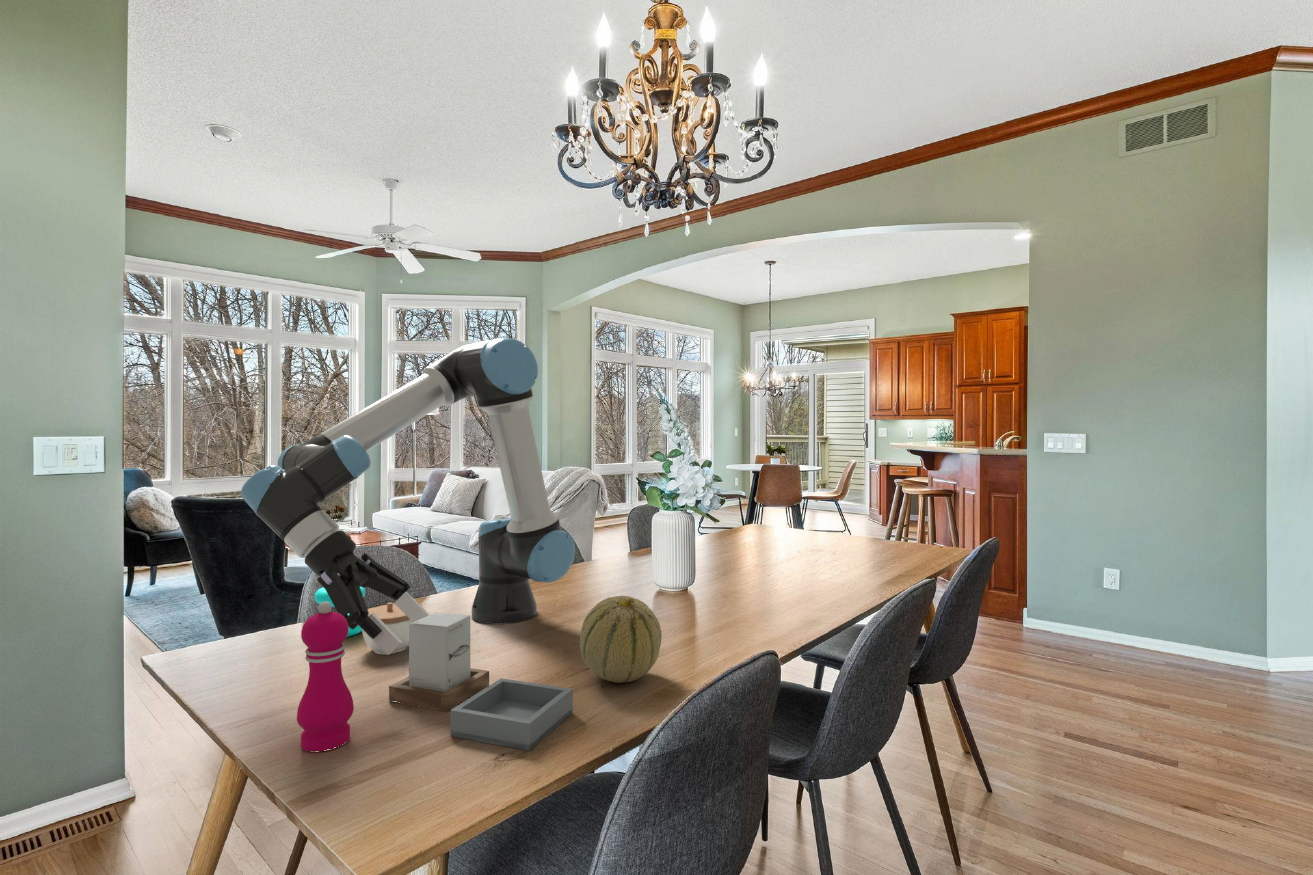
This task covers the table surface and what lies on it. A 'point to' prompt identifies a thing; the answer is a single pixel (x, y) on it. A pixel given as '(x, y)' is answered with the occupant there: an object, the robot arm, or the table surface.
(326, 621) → the pepper mill
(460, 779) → the table surface
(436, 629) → the supplement box
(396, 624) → the lidded jar
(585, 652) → the cantaloupe
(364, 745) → the table surface
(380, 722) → the table surface
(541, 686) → the slate tray
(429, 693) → the walnut collar
